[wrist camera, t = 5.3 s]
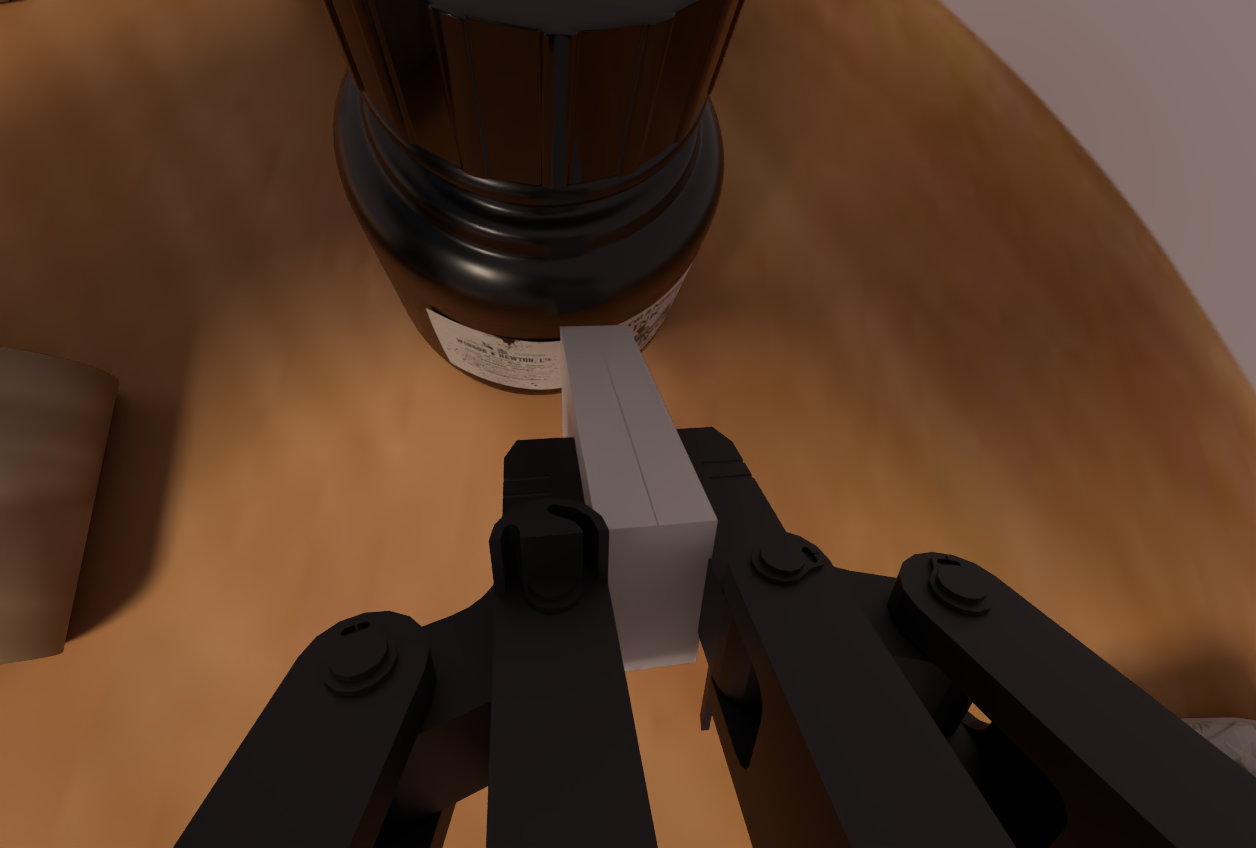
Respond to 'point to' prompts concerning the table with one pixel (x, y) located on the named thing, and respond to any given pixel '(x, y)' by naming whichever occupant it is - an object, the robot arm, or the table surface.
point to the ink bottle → (531, 165)
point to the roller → (46, 492)
